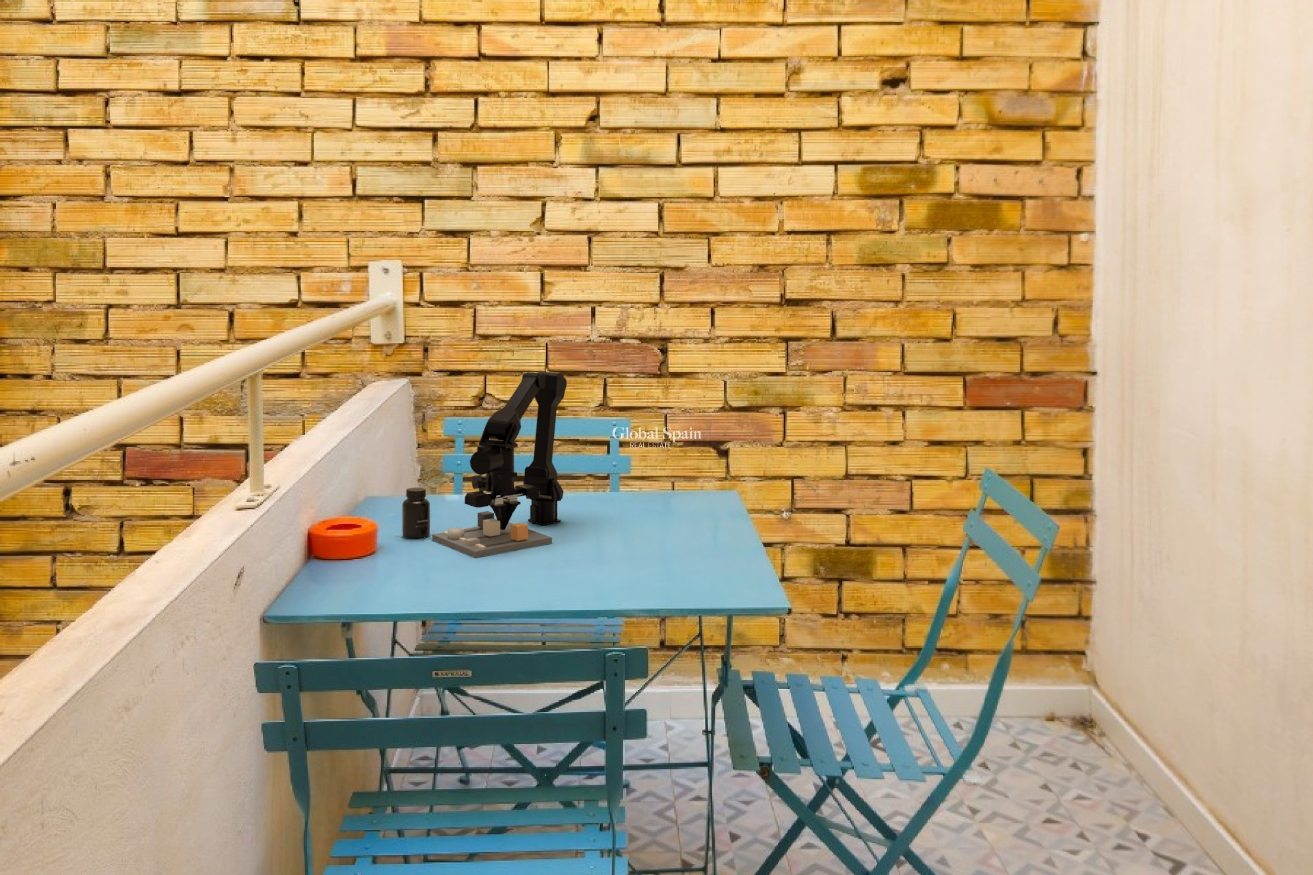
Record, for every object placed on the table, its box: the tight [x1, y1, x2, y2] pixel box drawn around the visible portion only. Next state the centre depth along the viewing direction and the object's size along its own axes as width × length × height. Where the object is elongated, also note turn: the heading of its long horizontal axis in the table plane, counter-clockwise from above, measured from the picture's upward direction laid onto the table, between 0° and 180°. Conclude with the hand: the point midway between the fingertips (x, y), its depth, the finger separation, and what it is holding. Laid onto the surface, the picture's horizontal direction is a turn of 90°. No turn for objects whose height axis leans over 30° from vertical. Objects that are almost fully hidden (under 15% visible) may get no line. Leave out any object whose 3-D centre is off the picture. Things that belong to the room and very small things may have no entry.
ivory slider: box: [483, 518, 500, 536], centre depth 303 cm, size 3×3×4 cm
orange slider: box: [511, 522, 529, 541], centre depth 299 cm, size 3×3×4 cm
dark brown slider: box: [477, 510, 495, 528], centre depth 311 cm, size 3×3×4 cm
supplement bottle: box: [401, 487, 431, 540], centre depth 307 cm, size 7×7×12 cm
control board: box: [431, 521, 553, 559], centre depth 303 cm, size 22×20×4 cm
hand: (502, 529), depth 305 cm, fingers closed
